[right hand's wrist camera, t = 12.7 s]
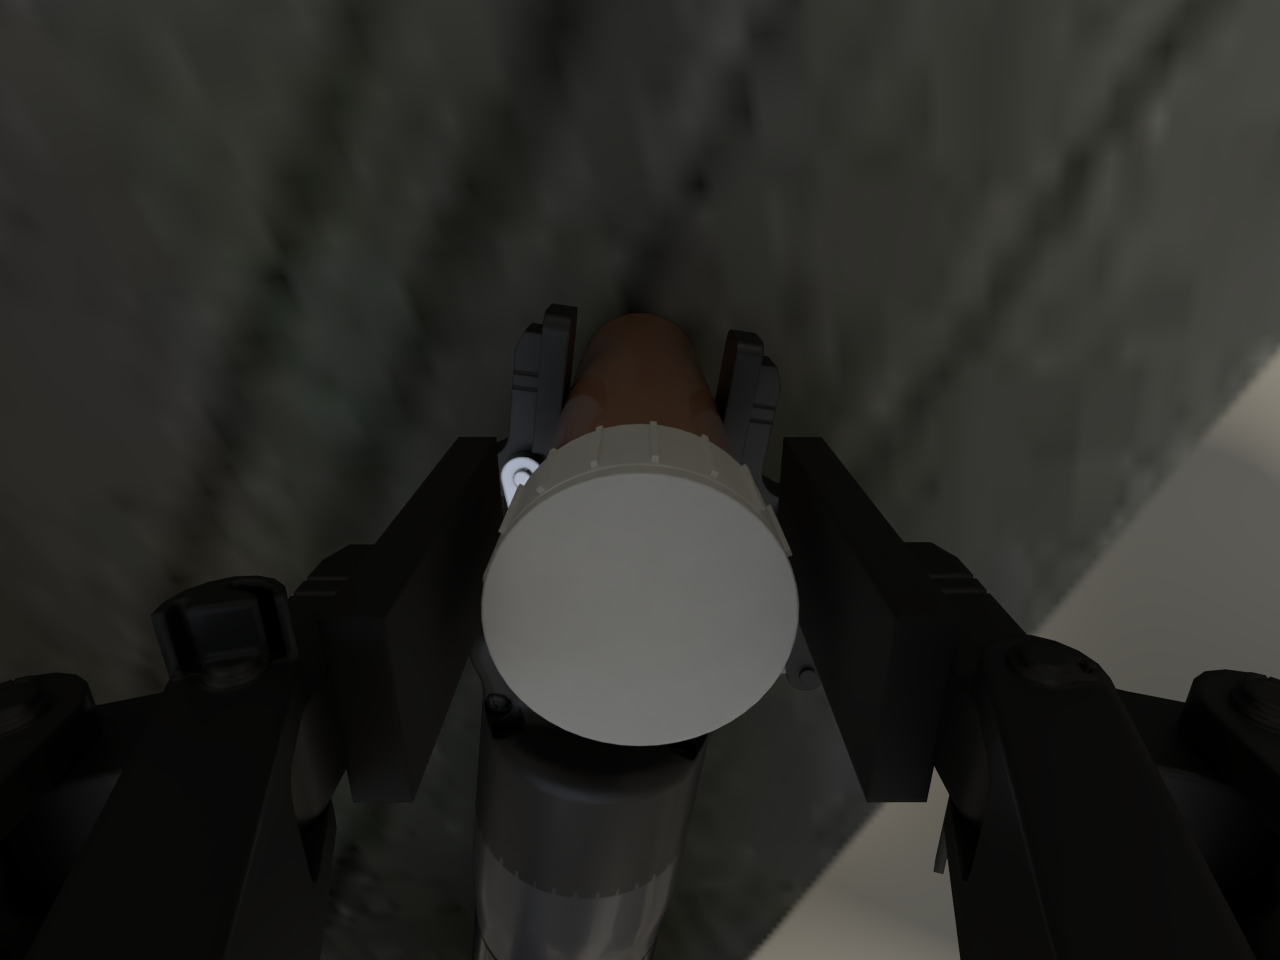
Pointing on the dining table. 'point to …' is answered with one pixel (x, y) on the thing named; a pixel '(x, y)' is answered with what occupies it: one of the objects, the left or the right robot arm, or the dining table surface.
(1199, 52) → the dining table surface
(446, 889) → the dining table surface
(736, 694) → the lid
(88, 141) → the dining table surface
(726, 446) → the brown piece
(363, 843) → the dining table surface
